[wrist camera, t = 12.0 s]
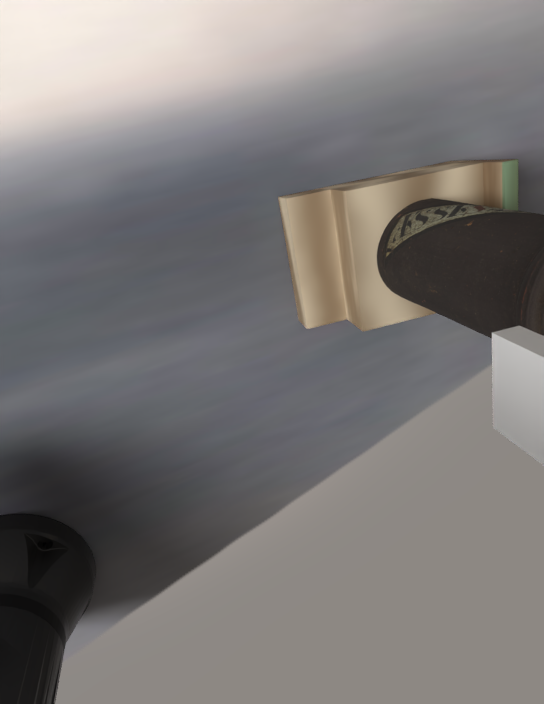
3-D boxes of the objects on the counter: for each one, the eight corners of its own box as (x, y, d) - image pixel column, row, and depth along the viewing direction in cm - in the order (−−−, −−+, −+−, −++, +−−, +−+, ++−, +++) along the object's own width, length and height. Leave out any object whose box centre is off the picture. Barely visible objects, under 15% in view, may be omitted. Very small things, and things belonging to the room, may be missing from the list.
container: (481, 209, 43) (722, 238, 25) (446, 309, 46) (641, 403, 27) (391, 184, 41) (584, 195, 23) (360, 291, 43) (510, 381, 25)
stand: (298, 320, 51) (330, 353, 42) (278, 196, 46) (308, 203, 37) (456, 282, 53) (518, 304, 44) (450, 161, 49) (518, 159, 40)
